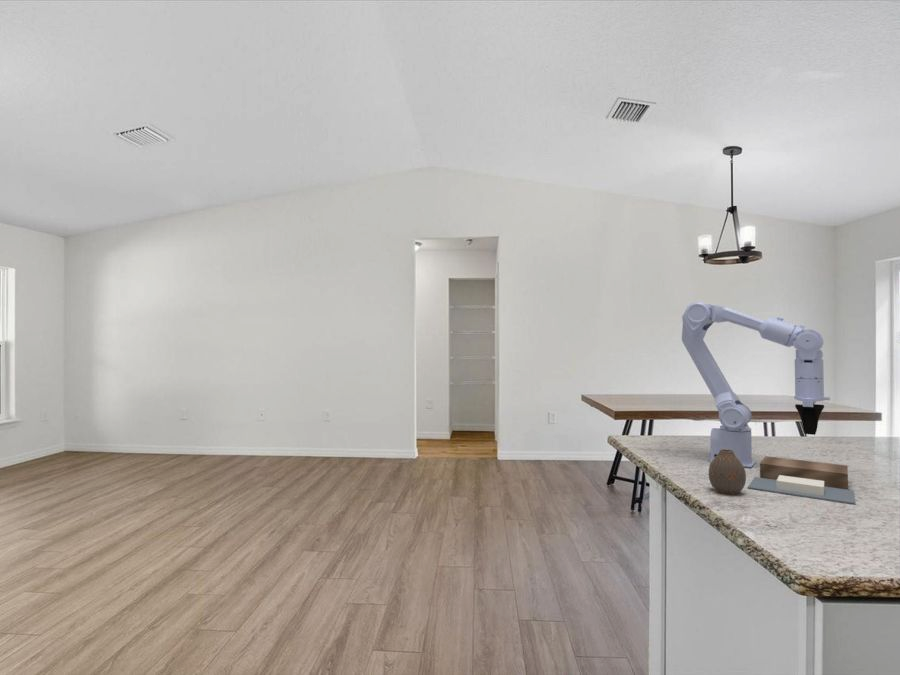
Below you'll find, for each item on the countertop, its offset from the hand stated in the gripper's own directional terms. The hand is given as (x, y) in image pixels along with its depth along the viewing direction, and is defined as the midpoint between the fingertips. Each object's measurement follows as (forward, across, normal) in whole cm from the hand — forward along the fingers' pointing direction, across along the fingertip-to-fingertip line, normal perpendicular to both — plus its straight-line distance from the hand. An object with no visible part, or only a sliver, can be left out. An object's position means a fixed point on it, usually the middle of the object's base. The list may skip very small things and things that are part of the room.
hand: (810, 434), depth 121 cm
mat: (+9, -20, +1) cm, 22 cm away
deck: (+9, -9, +1) cm, 13 cm away
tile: (+7, -20, +1) cm, 22 cm away
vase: (+10, -31, +13) cm, 35 cm away
